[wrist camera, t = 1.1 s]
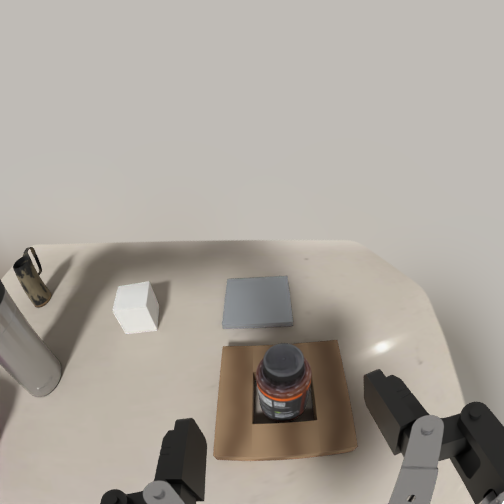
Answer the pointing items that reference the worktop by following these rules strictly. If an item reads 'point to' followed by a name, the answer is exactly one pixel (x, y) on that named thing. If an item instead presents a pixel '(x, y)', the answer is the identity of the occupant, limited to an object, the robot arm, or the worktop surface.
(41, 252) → the worktop surface
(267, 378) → the supplement bottle
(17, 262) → the mug
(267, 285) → the slate pad
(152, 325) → the white cube
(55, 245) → the worktop surface
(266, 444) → the socket block
